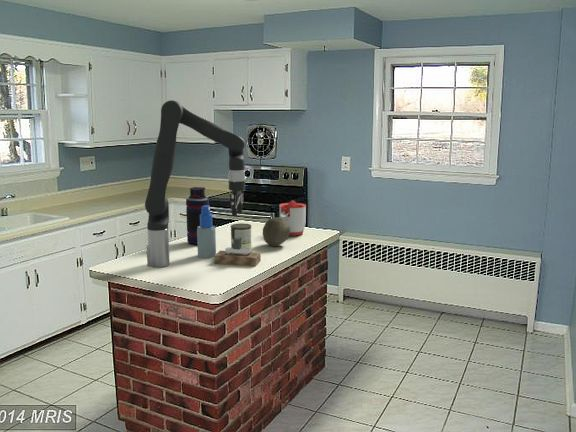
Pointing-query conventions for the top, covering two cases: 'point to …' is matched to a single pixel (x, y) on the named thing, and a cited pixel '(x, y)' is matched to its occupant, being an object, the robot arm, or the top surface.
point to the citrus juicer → (294, 216)
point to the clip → (237, 248)
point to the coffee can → (241, 234)
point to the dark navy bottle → (195, 211)
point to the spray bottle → (206, 234)
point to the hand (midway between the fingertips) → (237, 214)
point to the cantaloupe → (276, 231)
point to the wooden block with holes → (237, 258)
